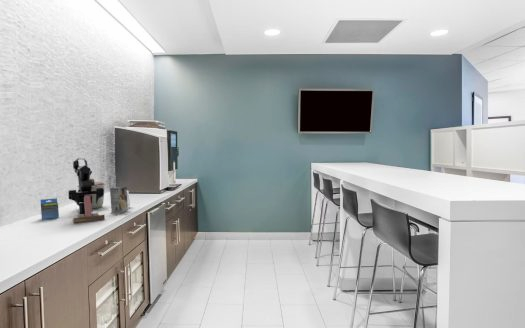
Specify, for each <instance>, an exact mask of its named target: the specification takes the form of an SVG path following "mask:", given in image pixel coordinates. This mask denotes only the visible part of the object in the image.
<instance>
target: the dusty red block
mask: <svg viewBox="0 0 525 328" xmlns="http://www.w3.org/2000/svg"><path fill="white" fill-rule="evenodd" d="M84 206H85V214H84V215H85V217H88V216H92V213H93V211H92V210H93V209H91V199H90V195H89V196H84Z"/></svg>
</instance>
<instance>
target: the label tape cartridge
mask: <svg viewBox="0 0 525 328" xmlns="http://www.w3.org/2000/svg"><path fill="white" fill-rule="evenodd" d="M59 211H60V209H59V203H58V198H46V199H45V198H43V199H40V214H41V220H42V219H43V220H50V219H58V218H59V217H60V214H59V213H60V212H59Z"/></svg>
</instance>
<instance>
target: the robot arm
mask: <svg viewBox="0 0 525 328" xmlns="http://www.w3.org/2000/svg"><path fill="white" fill-rule="evenodd" d="M72 169H74V173H76V176H77V179H78V186H79V188H78V190H77V189H71V190H68V199H69V200H71V201H73V202H75V203H76V205H77V206H78V207H79V208H78V209H79V212H78V215H81V214H84V215H85V206H84V196H89V195H90V199H91V203H92V196H91V195H94V194H96V204H97V202H98V200H99V198H101V197H102V196H103V195H104V196H105V188H104V189H103V188H96V191H91V190H92V186H94V185H95V183H94V182H95V179H94V180H91V181H90V179H91V175H92V174H93V171H92V170H91V168H90V167H89V166H88V161H87V160H86V158H84V157H79V158H76V160H74V161H73V162H72ZM81 202H83V203H81Z"/></svg>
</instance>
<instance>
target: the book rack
mask: <svg viewBox="0 0 525 328" xmlns="http://www.w3.org/2000/svg"><path fill="white" fill-rule="evenodd" d="M77 216H78V217H74V218H72V222H73V224H74V225H75V224H82V223H90V222H99V221H104V220H105V219H106V216H105V214H99V213H98V212H92V216H88V217H85V214H78V215H77Z"/></svg>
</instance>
